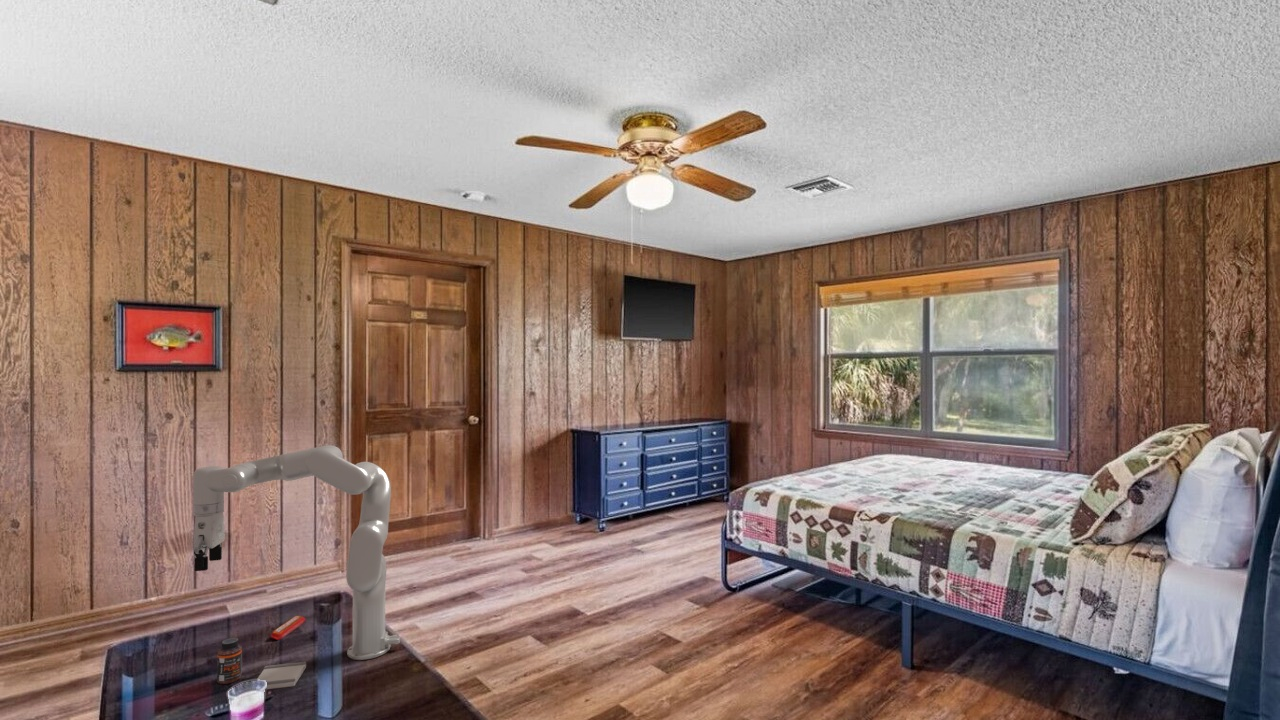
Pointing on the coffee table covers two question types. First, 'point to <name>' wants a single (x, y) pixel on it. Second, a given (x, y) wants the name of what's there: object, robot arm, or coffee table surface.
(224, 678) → the supplement bottle
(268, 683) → the mat
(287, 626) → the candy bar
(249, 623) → the coffee table surface
